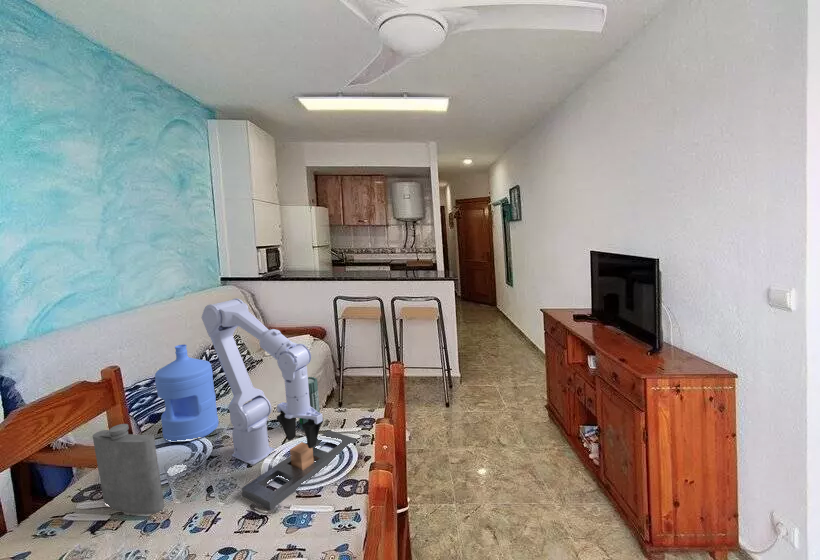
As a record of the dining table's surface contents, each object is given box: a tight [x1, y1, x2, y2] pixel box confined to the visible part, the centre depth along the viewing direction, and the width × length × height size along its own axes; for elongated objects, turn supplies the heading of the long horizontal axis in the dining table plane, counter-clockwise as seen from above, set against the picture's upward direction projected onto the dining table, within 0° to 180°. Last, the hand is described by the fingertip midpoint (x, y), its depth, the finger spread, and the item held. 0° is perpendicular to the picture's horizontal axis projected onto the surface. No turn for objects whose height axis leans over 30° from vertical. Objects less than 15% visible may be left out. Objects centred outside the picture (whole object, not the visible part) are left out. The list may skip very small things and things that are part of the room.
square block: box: [289, 441, 314, 470], centre depth 106 cm, size 4×4×6 cm
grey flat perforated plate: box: [241, 429, 356, 511], centre depth 107 cm, size 10×30×2 cm, turn 148°
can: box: [298, 376, 321, 431], centre depth 128 cm, size 6×6×15 cm
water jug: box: [154, 344, 220, 441], centre depth 127 cm, size 16×16×28 cm
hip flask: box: [92, 423, 165, 515], centre depth 94 cm, size 16×4×20 cm, turn 76°
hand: (301, 442), depth 106 cm, fingers open, 7 cm apart
